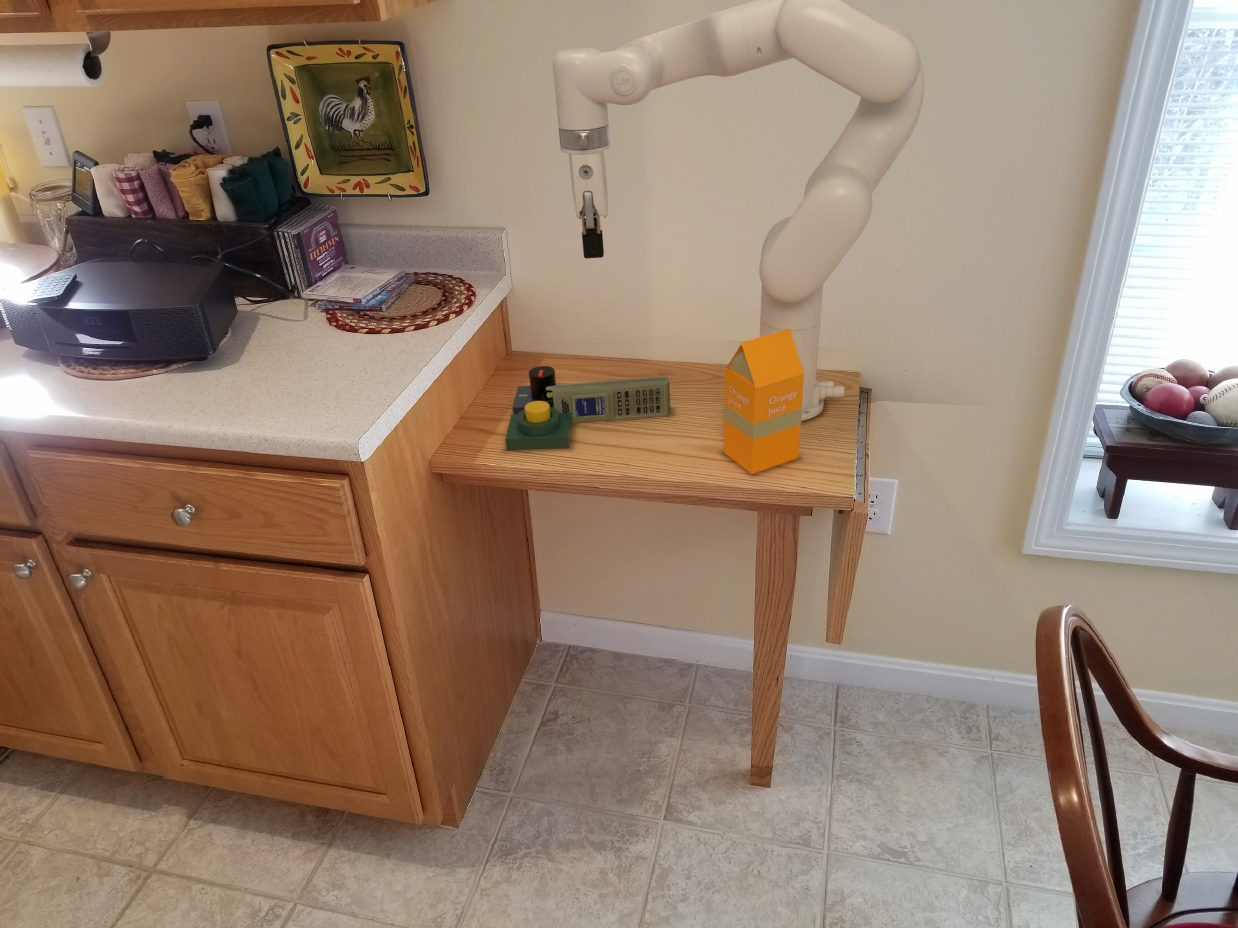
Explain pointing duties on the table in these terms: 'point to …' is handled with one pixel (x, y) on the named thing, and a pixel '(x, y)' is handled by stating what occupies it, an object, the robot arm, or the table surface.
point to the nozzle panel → (523, 399)
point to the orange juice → (763, 402)
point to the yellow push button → (537, 411)
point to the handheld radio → (612, 399)
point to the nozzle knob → (541, 382)
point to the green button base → (539, 432)
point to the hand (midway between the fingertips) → (593, 256)
